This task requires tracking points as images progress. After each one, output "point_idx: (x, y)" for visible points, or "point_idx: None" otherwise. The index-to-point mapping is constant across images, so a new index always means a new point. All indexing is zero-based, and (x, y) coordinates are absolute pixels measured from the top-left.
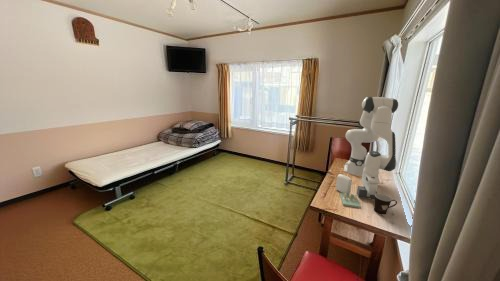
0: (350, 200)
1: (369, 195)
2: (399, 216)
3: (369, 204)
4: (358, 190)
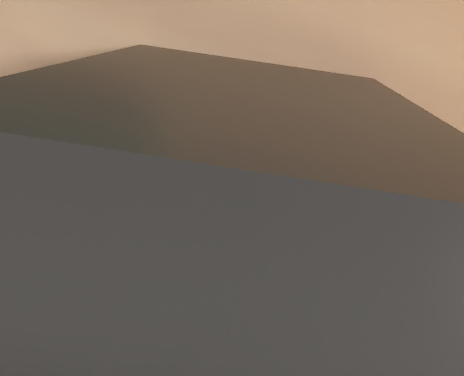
0: None
1: None
2: None
3: None
4: (210, 97)
